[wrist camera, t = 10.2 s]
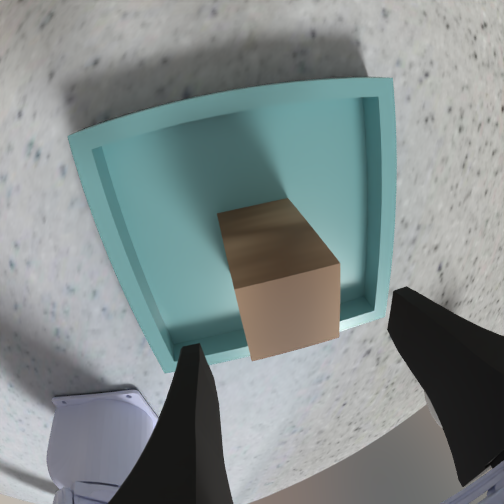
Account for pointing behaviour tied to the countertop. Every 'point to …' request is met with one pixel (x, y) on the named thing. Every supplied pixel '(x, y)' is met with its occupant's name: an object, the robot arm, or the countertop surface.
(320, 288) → the block
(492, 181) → the countertop surface
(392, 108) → the tray
